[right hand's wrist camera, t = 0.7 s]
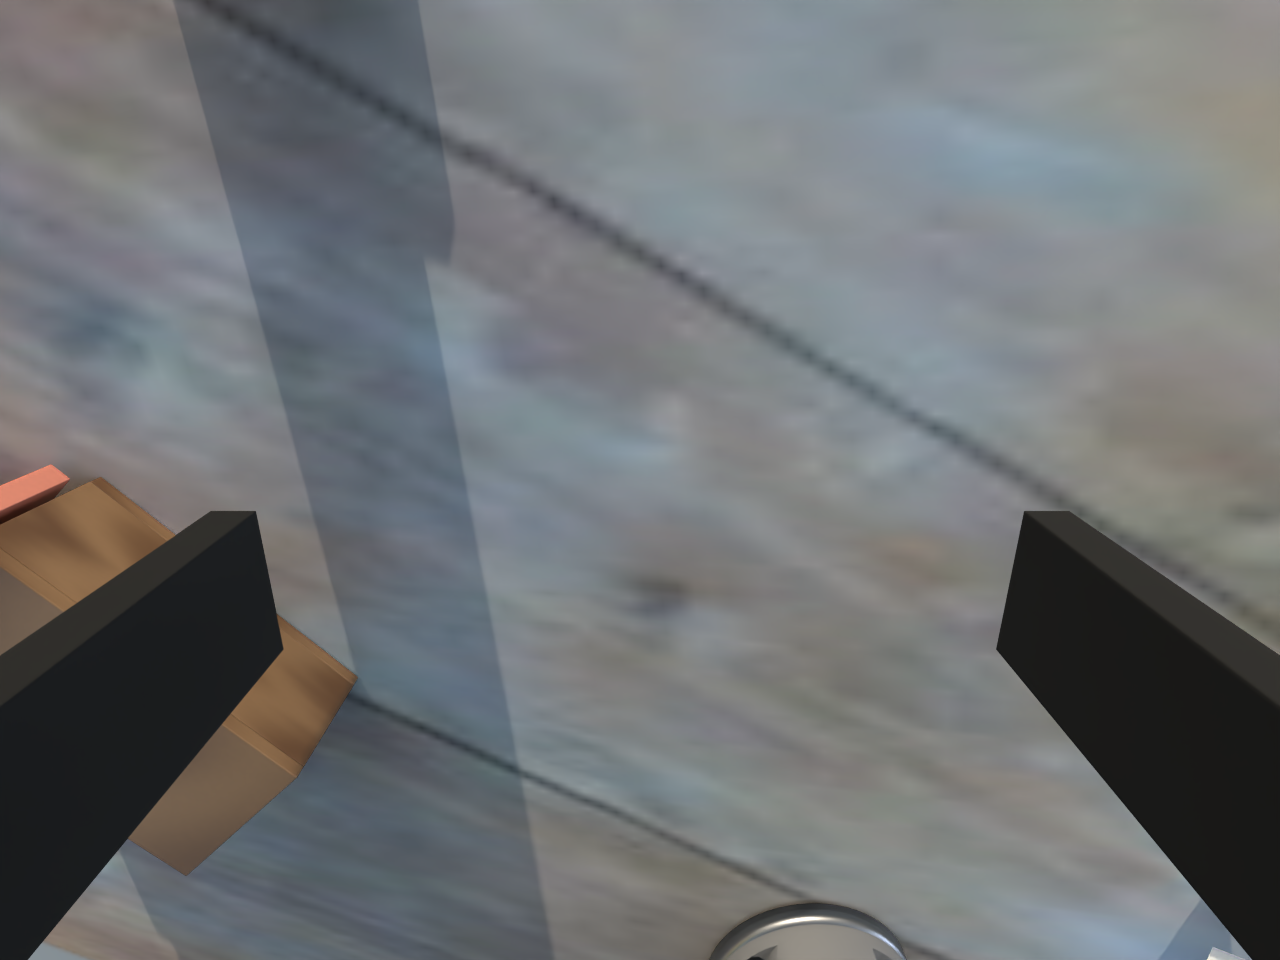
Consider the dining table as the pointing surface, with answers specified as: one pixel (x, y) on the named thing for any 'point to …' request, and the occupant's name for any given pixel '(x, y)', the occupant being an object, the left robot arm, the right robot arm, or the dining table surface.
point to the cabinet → (250, 736)
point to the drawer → (30, 492)
